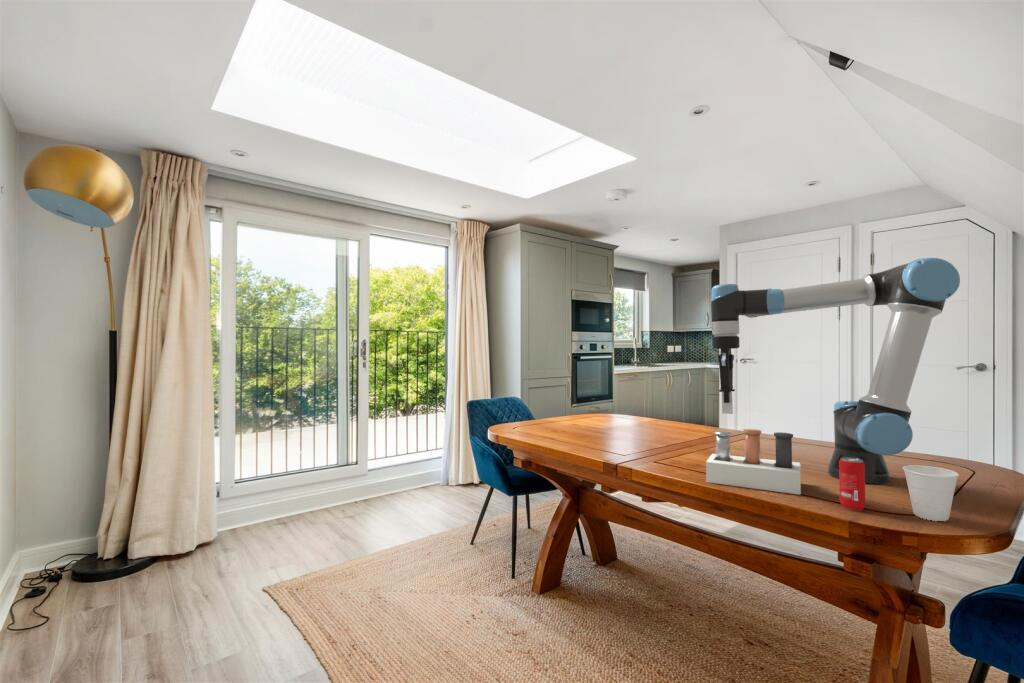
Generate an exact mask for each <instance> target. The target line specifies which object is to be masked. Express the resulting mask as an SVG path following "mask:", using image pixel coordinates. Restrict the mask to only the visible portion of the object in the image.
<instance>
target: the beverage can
mask: <svg viewBox="0 0 1024 683" xmlns="http://www.w3.org/2000/svg"><path fill="white" fill-rule="evenodd" d="M838 480H839V482H838V483H839V486H838V487H839V502H840V505H841V508H844V509H846V510H850V511H857V512H859V511H864V508H865V506H866V483H865V464H864V463H863V460H861V459H857V458H850V457H842V458H840V461H839V478H838Z"/></svg>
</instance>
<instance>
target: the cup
mask: <svg viewBox="0 0 1024 683" xmlns="http://www.w3.org/2000/svg"><path fill="white" fill-rule="evenodd" d="M902 470H904V476H905V479H906V484H907V488H908V493H909V498H910V502H911V507H912V508H911V509H912V512H913V514H914V515H915V516H916V517H917V516H918V518H919V517H920V519H922V518H923V519H922V520H926V519H927V521H930V520H932V521H931V522H937V521H944V522H946V521H949V518H950V514H951V509H952V504H953V499H954V495H955V491H956V487H957V482H958V478H959V476H960V474H959V473H958V472H956V471H955V470H951V469H947V468H943V467H936V466H929V465H922V464H921V465H920V464H919V465H918V464H910V465H903V467H902Z"/></svg>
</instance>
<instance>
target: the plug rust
mask: <svg viewBox="0 0 1024 683" xmlns="http://www.w3.org/2000/svg"><path fill="white" fill-rule="evenodd" d="M742 431H743V432H742V433H744V457H745V463H747V464H754V465H759V464H760V459H761V434H762V430H759V429H755V428H754V429H753V428H745V429H743V430H742Z"/></svg>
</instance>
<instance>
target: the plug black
mask: <svg viewBox="0 0 1024 683" xmlns="http://www.w3.org/2000/svg"><path fill="white" fill-rule="evenodd" d="M773 436H774V437H775V460H776V467H781V468H790V469H792V462H793V447H792V446H793V444H792V440H793V439H792V438H794V434H792V433H789V432H774V433H773Z"/></svg>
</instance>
